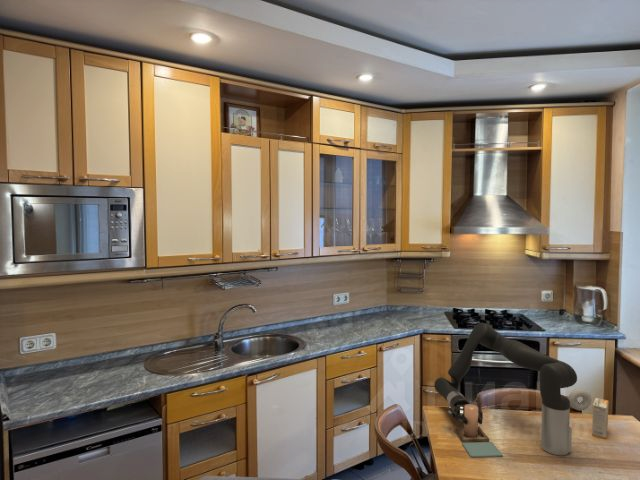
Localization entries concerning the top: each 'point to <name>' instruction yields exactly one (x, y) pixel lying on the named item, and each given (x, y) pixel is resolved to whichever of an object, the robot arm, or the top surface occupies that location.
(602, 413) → the supplement box
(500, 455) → the mat
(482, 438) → the holder
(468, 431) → the tall tan cylinder
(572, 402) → the grey round disc
